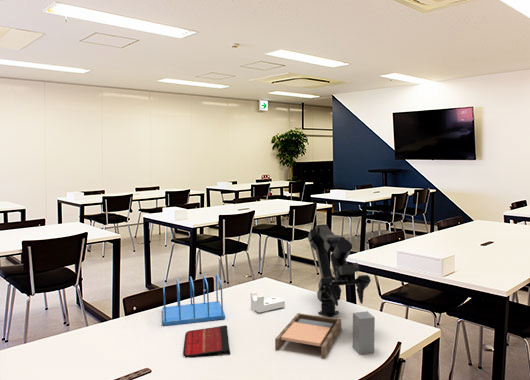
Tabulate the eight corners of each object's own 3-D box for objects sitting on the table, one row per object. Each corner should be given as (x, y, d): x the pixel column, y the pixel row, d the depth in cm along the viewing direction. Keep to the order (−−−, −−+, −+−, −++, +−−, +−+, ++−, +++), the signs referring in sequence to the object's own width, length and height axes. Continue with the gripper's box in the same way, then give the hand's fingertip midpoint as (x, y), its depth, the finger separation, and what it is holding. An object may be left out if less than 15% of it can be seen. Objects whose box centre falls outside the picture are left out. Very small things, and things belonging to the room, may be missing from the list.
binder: (227, 324, 168) (230, 349, 147) (227, 330, 168) (230, 356, 147) (185, 329, 166) (182, 355, 145) (185, 335, 166) (183, 362, 145)
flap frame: (297, 322, 173) (297, 313, 173) (341, 329, 166) (341, 319, 166) (275, 349, 150) (275, 338, 150) (324, 358, 143) (324, 347, 143)
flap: (299, 325, 169) (299, 315, 168) (334, 331, 163) (334, 320, 163) (281, 348, 150) (281, 336, 150) (320, 354, 145) (320, 343, 145)
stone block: (352, 347, 151) (352, 312, 150) (367, 345, 152) (367, 311, 151) (359, 354, 146) (359, 318, 145) (374, 352, 147) (374, 317, 146)
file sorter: (219, 305, 194) (218, 271, 193) (225, 320, 177) (224, 283, 176) (162, 310, 188) (161, 276, 187) (162, 326, 171) (161, 289, 170)
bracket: (258, 314, 183) (258, 297, 182) (251, 309, 189) (250, 292, 188) (284, 308, 189) (284, 292, 188) (276, 303, 195) (276, 287, 194)
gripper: (320, 256, 157) (329, 296, 148) (369, 253, 160) (381, 292, 150) (314, 271, 166) (322, 309, 156) (361, 268, 169) (371, 306, 159)
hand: (349, 304), depth 155 cm, fingers open, 9 cm apart
